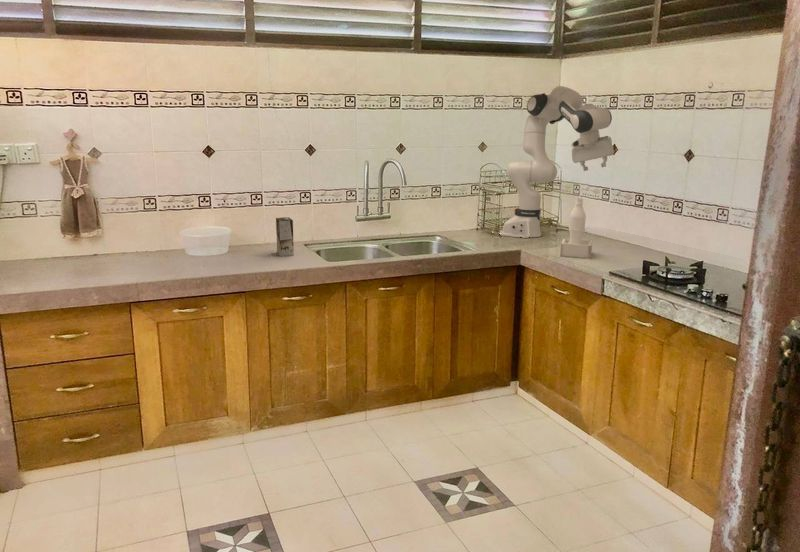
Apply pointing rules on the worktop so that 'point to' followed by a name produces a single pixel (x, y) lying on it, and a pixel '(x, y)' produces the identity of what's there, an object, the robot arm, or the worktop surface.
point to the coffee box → (284, 236)
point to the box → (576, 249)
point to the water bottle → (577, 223)
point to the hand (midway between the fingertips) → (594, 168)
